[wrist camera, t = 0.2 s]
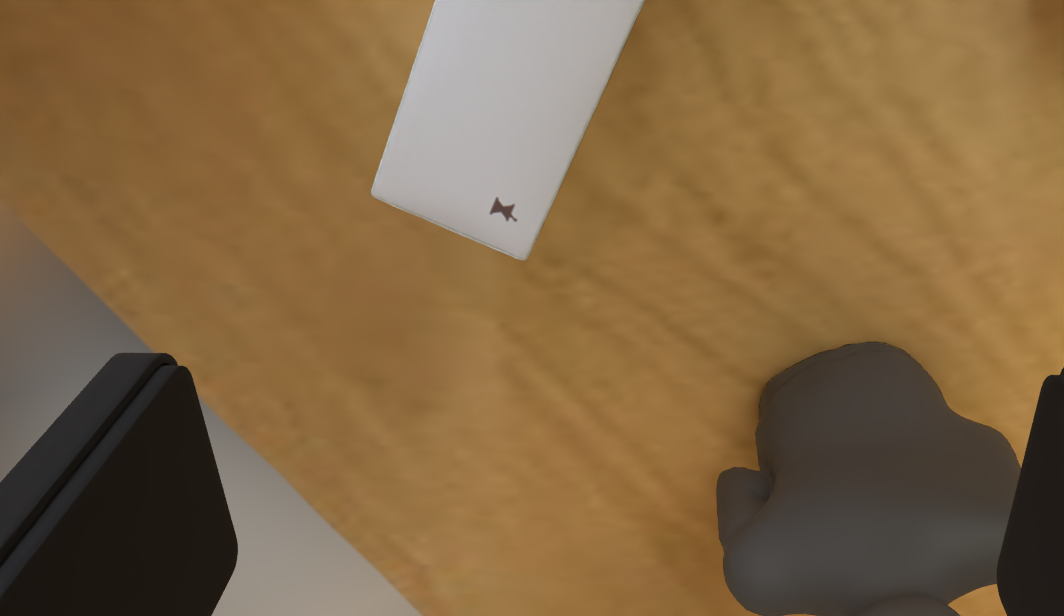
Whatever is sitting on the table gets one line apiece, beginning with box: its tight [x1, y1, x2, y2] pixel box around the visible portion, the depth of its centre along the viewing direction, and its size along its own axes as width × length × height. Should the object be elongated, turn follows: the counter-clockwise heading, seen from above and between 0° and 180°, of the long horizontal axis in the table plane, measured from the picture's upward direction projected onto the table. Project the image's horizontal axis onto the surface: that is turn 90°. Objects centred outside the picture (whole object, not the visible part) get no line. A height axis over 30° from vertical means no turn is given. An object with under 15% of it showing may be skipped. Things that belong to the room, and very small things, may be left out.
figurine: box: [716, 342, 1021, 616], centre depth 38 cm, size 12×8×20 cm, turn 108°
